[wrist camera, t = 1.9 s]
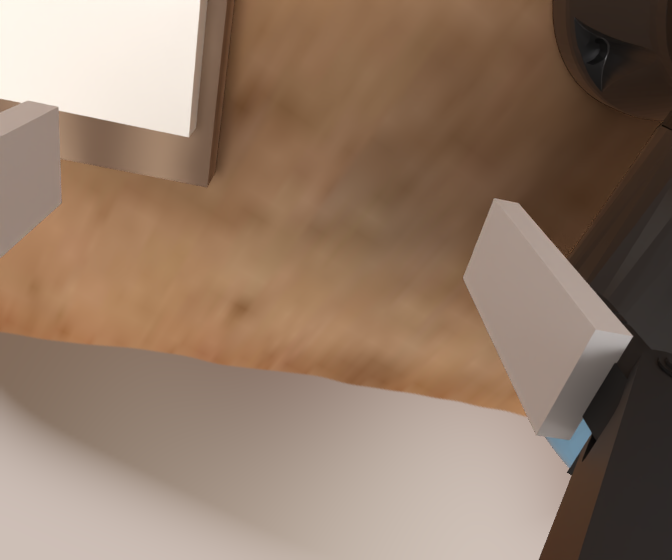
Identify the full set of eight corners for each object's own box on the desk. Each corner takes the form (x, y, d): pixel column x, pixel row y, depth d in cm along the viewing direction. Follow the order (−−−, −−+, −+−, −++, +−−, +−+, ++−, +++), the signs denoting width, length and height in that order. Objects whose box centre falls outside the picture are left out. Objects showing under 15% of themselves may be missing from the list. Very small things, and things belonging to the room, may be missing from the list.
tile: (207, -5, 28) (200, -3, 26) (196, 128, 31) (188, 137, 29) (4, -54, 26) (-18, -56, 25) (15, 90, 30) (-4, 97, 28)
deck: (243, -74, 29) (235, -79, 26) (215, 171, 36) (207, 187, 33) (8, -135, 27) (-25, -146, 25) (25, 134, 34) (2, 147, 31)
